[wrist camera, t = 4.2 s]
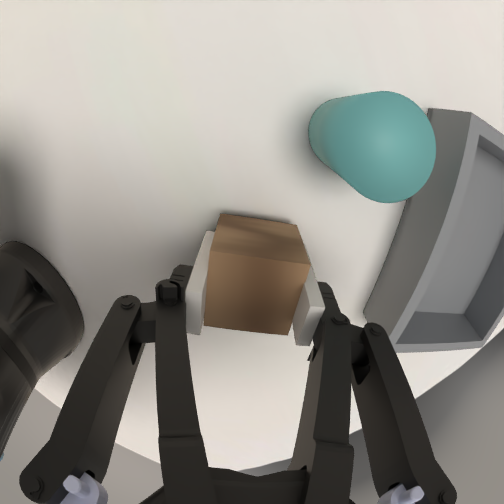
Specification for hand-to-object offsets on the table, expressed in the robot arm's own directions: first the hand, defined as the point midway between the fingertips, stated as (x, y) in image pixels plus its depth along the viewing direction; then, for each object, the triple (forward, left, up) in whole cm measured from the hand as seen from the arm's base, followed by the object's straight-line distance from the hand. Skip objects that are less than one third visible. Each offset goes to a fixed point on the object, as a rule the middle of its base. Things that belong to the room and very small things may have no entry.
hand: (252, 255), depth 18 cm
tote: (+18, +4, -2) cm, 18 cm away
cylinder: (+5, +9, -2) cm, 10 cm away
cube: (0, 0, 0) cm, 0 cm away
